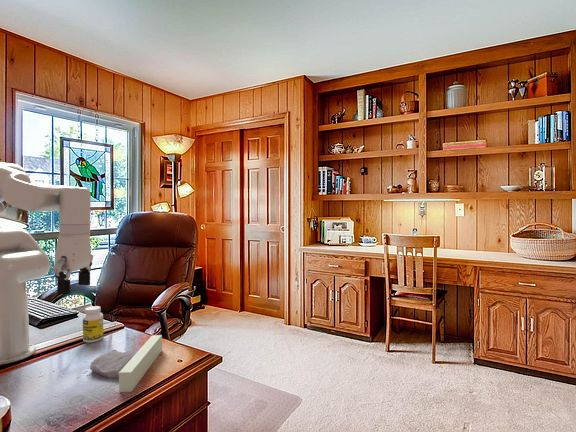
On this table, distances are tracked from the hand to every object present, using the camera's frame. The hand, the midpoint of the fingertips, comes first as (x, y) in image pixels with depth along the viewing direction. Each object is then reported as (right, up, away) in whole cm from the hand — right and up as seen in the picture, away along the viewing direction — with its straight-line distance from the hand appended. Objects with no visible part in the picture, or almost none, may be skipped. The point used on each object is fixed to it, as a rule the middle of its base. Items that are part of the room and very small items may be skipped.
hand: (74, 289), depth 100 cm
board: (+20, -23, -1) cm, 30 cm away
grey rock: (+12, -23, -1) cm, 26 cm away
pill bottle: (-6, -22, +20) cm, 30 cm away
